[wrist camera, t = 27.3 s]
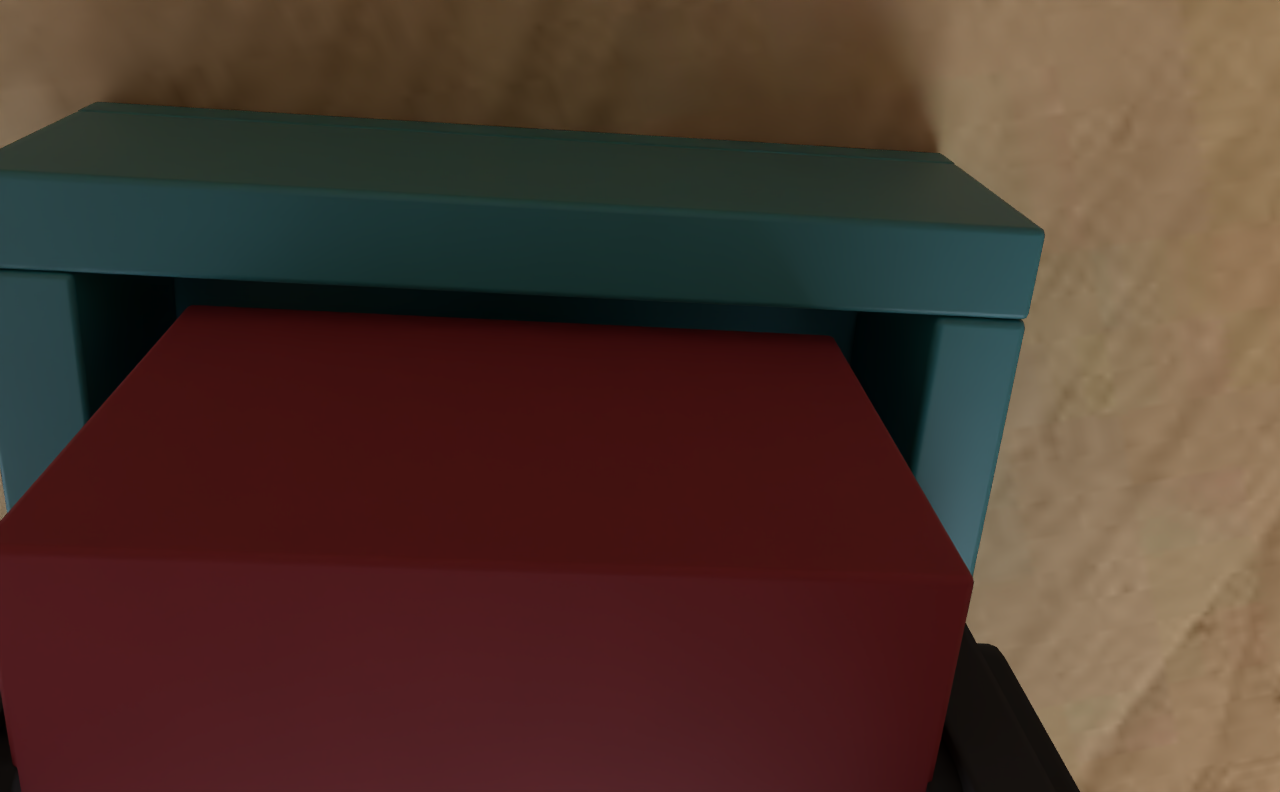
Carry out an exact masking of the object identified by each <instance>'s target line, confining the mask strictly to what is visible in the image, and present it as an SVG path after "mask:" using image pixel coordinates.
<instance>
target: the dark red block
mask: <svg viewBox="0 0 1280 792" xmlns="http://www.w3.org/2000/svg"><path fill="white" fill-rule="evenodd" d="M973 584H974V581H973V577H972V575H971V573H970V571H969V570H968V568H967V566H966V564H965V563H964V561H963V559H962V558H961V556H960V554H959V552H958V551H957V549H956V547H955V546H954V544H953V542H952V540H951V539H950V537H949V535H948V534H947V532H946V530H945V528H944V527H943V525H942V523H941V522H940V520H939V518H938V516H937V515H936V513H935V511H934V509H933V508H932V506H931V504H930V503H929V501H928V499H927V497H926V496H925V494H924V492H923V491H922V489H921V487H920V485H919V484H918V482H917V480H916V479H915V477H914V475H913V473H912V472H911V470H910V468H909V467H908V465H907V463H906V461H905V460H904V458H903V456H902V455H901V453H900V451H899V449H898V448H897V446H896V444H895V443H894V441H893V439H892V437H891V436H890V434H889V432H888V431H887V429H886V427H885V425H884V424H883V422H882V420H881V419H880V417H879V415H878V413H877V412H876V410H875V408H874V407H873V405H872V403H871V401H870V400H869V398H868V396H867V395H866V393H865V391H864V389H863V388H862V386H861V384H860V383H859V381H858V379H857V377H856V376H855V374H854V372H853V371H852V369H851V367H850V365H849V364H848V362H847V360H846V358H845V357H844V355H843V353H842V352H841V350H840V348H839V346H838V345H837V343H836V341H835V340H834V338H833V337H831V336H829V335H809V334H788V333H768V332H747V331H726V330H705V329H684V328H663V327H642V326H622V325H601V324H580V323H559V322H538V321H517V320H496V319H476V318H455V317H434V316H413V315H392V314H371V313H350V312H330V311H309V310H288V309H267V308H246V307H225V306H204V305H191V306H188V307H187V308H186V309H185V310H184V312H183V313H182V314H181V315H180V316H179V317H178V318H177V320H176V321H175V322H174V323H173V324H172V325H171V326H170V328H169V329H168V330H167V331H166V332H165V333H164V335H163V336H162V337H161V338H160V339H159V340H158V341H157V343H156V344H155V345H154V346H153V347H152V348H151V349H150V351H149V352H148V353H147V354H146V355H145V356H144V357H143V359H142V360H141V361H140V362H139V363H138V364H137V365H136V367H135V368H134V369H133V370H132V371H131V372H130V373H129V375H128V376H127V377H126V378H125V379H124V380H123V381H122V383H121V384H120V385H119V386H118V387H117V388H116V389H115V391H114V392H113V393H112V394H111V395H110V396H109V397H108V399H107V400H106V401H105V402H104V403H103V404H102V405H101V407H100V408H99V409H98V410H97V411H96V412H95V413H94V415H93V416H92V417H91V418H90V419H89V420H88V421H87V423H86V424H85V425H84V426H83V427H82V428H81V429H80V431H79V432H78V433H77V434H76V435H75V436H74V437H73V439H72V440H71V441H70V442H69V443H68V444H67V445H66V447H65V448H64V449H63V450H62V451H61V452H60V454H59V455H58V456H57V457H56V458H55V459H54V460H53V462H52V463H51V464H50V465H49V466H48V467H47V468H46V470H45V471H44V472H43V473H42V474H41V475H40V476H39V478H38V479H37V480H36V481H35V482H34V483H33V484H32V486H31V487H30V488H29V489H28V490H27V491H26V492H25V494H24V495H23V496H22V497H21V498H20V499H19V500H18V502H17V503H16V504H15V505H14V506H13V507H12V508H11V510H10V511H9V512H8V513H7V514H6V515H5V516H4V518H3V519H2V520H1V521H0V692H1V698H2V704H3V710H4V716H5V722H6V728H7V734H8V740H9V746H10V752H11V758H12V764H13V766H15V767H17V769H18V775H19V781H20V787H21V792H926V788H927V783H928V782H931V781H932V779H933V774H934V769H935V764H936V760H937V755H938V750H939V745H940V741H941V736H942V731H943V726H944V722H945V717H946V712H947V708H948V703H949V698H950V693H951V689H952V684H953V679H954V674H955V670H956V665H957V660H958V655H959V651H960V646H961V641H962V636H963V632H964V627H965V622H966V617H967V613H968V608H969V603H970V599H971V594H972V589H973Z"/></svg>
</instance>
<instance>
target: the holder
mask: <svg viewBox="0 0 1280 792" xmlns="http://www.w3.org/2000/svg"><path fill="white" fill-rule="evenodd" d="M1044 237H1045V234H1044V230H1043V229H1042V228H1040V227H1039V226H1038V225H1036V224H1035V223H1033V222H1032V221H1031V220H1029V219H1028V218H1027V217H1025V216H1024V215H1023V214H1021V213H1020V212H1019V211H1017V210H1016V209H1015V208H1013V207H1012V206H1010V205H1009V204H1008V203H1006V202H1005V201H1004V200H1002V199H1001V198H1000V197H998V196H997V195H996V194H994V193H993V192H992V191H990V190H989V189H988V188H986V187H985V186H983V185H982V184H981V183H979V182H978V181H977V180H975V179H974V178H973V177H971V176H970V175H969V174H967V173H966V172H965V171H963V170H962V169H960V168H959V167H958V166H956V165H955V164H954V163H953V162H952V161H950V160H949V159H948V158H946V157H945V156H944V155H942V154H940V153H926V152H910V151H894V150H877V149H861V148H845V147H828V146H812V145H795V144H779V143H763V142H746V141H730V140H713V139H697V138H681V137H664V136H648V135H631V134H615V133H599V132H582V131H566V130H549V129H533V128H517V127H500V126H484V125H468V124H451V123H435V122H418V121H402V120H386V119H369V118H353V117H336V116H320V115H304V114H287V113H271V112H254V111H238V110H222V109H205V108H189V107H172V106H156V105H140V104H123V103H107V102H95V103H93V104H91V105H89V106H87V107H84V108H82V109H80V110H78V112H76V113H73V114H71V115H69V116H67V117H65V118H63V119H61V120H59V121H57V122H55V123H53V124H50V125H48V126H46V127H44V128H42V129H40V130H38V131H36V132H34V133H32V134H30V135H28V136H26V137H24V138H21V139H19V140H17V141H15V142H13V143H11V144H9V145H7V146H5V147H3V148H1V149H0V469H1V476H2V482H3V489H4V495H5V502H6V508H7V513H8V512H9V511H10V510H11V508H12V507H13V506H14V505H15V504H16V503H17V502H18V500H19V499H20V498H21V497H22V496H23V495H24V494H25V492H26V491H27V490H28V489H29V488H30V487H31V486H32V484H33V483H34V482H35V481H36V480H37V479H38V478H39V476H40V475H41V474H42V473H43V472H44V471H45V470H46V468H47V467H48V466H49V465H50V464H51V463H52V462H53V460H54V459H55V458H56V457H57V456H58V455H59V454H60V452H61V451H62V450H63V449H64V448H65V447H66V445H67V444H68V443H69V442H70V441H71V440H72V439H73V437H74V436H75V435H76V434H77V433H78V432H79V431H80V429H81V428H82V427H83V426H84V425H85V424H86V423H87V421H88V420H89V419H90V418H91V417H92V416H93V415H94V413H95V412H96V411H97V410H98V409H99V408H100V407H101V405H102V404H103V403H104V402H105V401H106V400H107V399H108V397H109V396H110V395H111V394H112V393H113V392H114V391H115V389H116V388H117V387H118V386H119V385H120V384H121V383H122V381H123V380H124V379H125V378H126V377H127V376H128V375H129V373H130V372H131V371H132V370H133V369H134V368H135V367H136V365H137V364H138V363H139V362H140V361H141V360H142V359H143V357H144V356H145V355H146V354H147V353H148V352H149V351H150V349H151V348H152V347H153V346H154V345H155V344H156V343H157V341H158V340H159V339H160V338H161V337H162V336H163V335H164V333H165V332H166V331H167V330H168V329H169V328H170V326H171V325H172V324H173V323H174V322H175V321H176V320H177V318H178V317H179V316H180V315H181V314H182V313H183V312H184V310H185V309H186V308H187V307H188V306H191V305H204V306H225V307H246V308H267V309H288V310H309V311H330V312H350V313H371V314H392V315H413V316H434V317H455V318H476V319H496V320H517V321H538V322H559V323H580V324H601V325H622V326H642V327H663V328H684V329H705V330H726V331H747V332H768V333H788V334H809V335H829V336H831V337H833V338H834V340H835V341H836V343H837V345H838V346H839V348H840V350H841V352H842V353H843V355H844V357H845V358H846V360H847V362H848V364H849V365H850V367H851V369H852V371H853V372H854V374H855V376H856V377H857V379H858V381H859V383H860V384H861V386H862V388H863V389H864V391H865V393H866V395H867V396H868V398H869V400H870V401H871V403H872V405H873V407H874V408H875V410H876V412H877V413H878V415H879V417H880V419H881V420H882V422H883V424H884V425H885V427H886V429H887V431H888V432H889V434H890V436H891V437H892V439H893V441H894V443H895V444H896V446H897V448H898V449H899V451H900V453H901V455H902V456H903V458H904V460H905V461H906V463H907V465H908V467H909V468H910V470H911V472H912V473H913V475H914V477H915V479H916V480H917V482H918V484H919V485H920V487H921V489H922V491H923V492H924V494H925V496H926V497H927V499H928V501H929V503H930V504H931V506H932V508H933V509H934V511H935V513H936V515H937V516H938V518H939V520H940V522H941V523H942V525H943V527H944V528H945V530H946V532H947V534H948V535H949V537H950V539H951V540H952V542H953V544H954V546H955V547H956V549H957V551H958V552H959V554H960V556H961V558H962V559H963V561H964V563H965V564H966V566H967V568H968V570H969V571H970V573H971V575H972V577H973V572H974V568H975V563H976V558H977V553H978V549H979V544H980V539H981V534H982V530H983V525H984V520H985V515H986V511H987V506H988V501H989V496H990V491H991V487H992V482H993V477H994V472H995V468H996V463H997V458H998V453H999V449H1000V444H1001V439H1002V434H1003V430H1004V425H1005V420H1006V415H1007V410H1008V406H1009V401H1010V396H1011V391H1012V387H1013V382H1014V377H1015V372H1016V368H1017V363H1018V358H1019V353H1020V349H1021V344H1022V339H1023V334H1024V329H1025V327H1024V322H1023V321H1022V320H1021V319H1024V318H1026V317H1027V315H1028V314H1029V309H1030V304H1031V299H1032V294H1033V290H1034V285H1035V280H1036V275H1037V271H1038V266H1039V261H1040V256H1041V252H1042V247H1043V242H1044Z"/></svg>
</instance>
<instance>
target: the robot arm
mask: <svg viewBox="0 0 1280 792" xmlns="http://www.w3.org/2000/svg"><path fill="white" fill-rule="evenodd" d="M0 792H21V787H20V781H19V775H18V769H17V767H15V766H13V764H12V758H11V752H10V746H9V740H8V734H7V728H6V722H5V716H4V710H3V704H2V698H1V692H0ZM926 792H1080V791H1079V789H1078V787H1077V785H1076V784H1075V782H1074V780H1073V778H1072V776H1071V775H1070V773H1069V771H1068V769H1067V768H1066V766H1065V764H1064V762H1063V760H1062V759H1061V757H1060V755H1059V753H1058V752H1057V750H1056V748H1055V746H1054V744H1053V743H1052V741H1051V739H1050V737H1049V735H1048V734H1047V732H1046V730H1045V728H1044V727H1043V725H1042V723H1041V721H1040V719H1039V718H1038V716H1037V714H1036V712H1035V711H1034V709H1033V707H1032V705H1031V703H1030V702H1029V700H1028V698H1027V696H1026V694H1025V693H1024V691H1023V689H1022V687H1021V686H1020V684H1019V682H1018V680H1017V678H1016V677H1015V675H1014V673H1013V671H1012V670H1011V668H1010V666H1009V664H1008V662H1007V661H1006V659H1005V657H1004V656H1003V655H1002V653H1001V652H1000V651H999V649H998V648H997V647H995V646H993V645H990V644H979V643H976V641H975V639H974V637H973V636H972V634H971V632H970V630H969V628H968V626H967V624H966V623H965V627H964V632H963V636H962V641H961V646H960V651H959V655H958V660H957V665H956V670H955V674H954V679H953V684H952V689H951V693H950V698H949V703H948V708H947V712H946V717H945V722H944V726H943V731H942V736H941V741H940V745H939V750H938V755H937V760H936V764H935V769H934V774H933V779H932V781H931V782H928V783H927V788H926Z"/></svg>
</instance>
